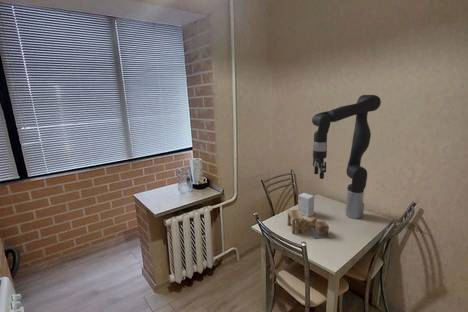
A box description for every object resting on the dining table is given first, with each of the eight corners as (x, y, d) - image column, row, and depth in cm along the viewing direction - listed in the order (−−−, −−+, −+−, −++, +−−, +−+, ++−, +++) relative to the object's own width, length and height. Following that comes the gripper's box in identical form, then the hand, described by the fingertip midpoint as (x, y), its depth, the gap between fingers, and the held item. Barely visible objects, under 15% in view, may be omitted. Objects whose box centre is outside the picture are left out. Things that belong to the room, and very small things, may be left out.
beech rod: (312, 222, 154) (312, 216, 152) (316, 225, 151) (316, 218, 150) (292, 230, 146) (293, 223, 145) (297, 233, 143) (297, 226, 142)
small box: (313, 214, 163) (314, 195, 160) (308, 217, 160) (308, 198, 156) (303, 210, 170) (303, 192, 166) (297, 213, 166) (298, 195, 162)
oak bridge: (298, 223, 153) (298, 209, 151) (303, 233, 142) (304, 218, 140) (287, 223, 153) (287, 210, 151) (292, 233, 142) (292, 219, 140)
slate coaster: (324, 228, 146) (324, 227, 146) (330, 237, 137) (330, 236, 137) (308, 229, 145) (308, 228, 145) (314, 238, 137) (314, 237, 137)
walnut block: (324, 229, 144) (324, 221, 142) (328, 234, 138) (328, 226, 137) (315, 230, 144) (315, 221, 142) (318, 235, 138) (318, 226, 137)
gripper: (331, 151, 135) (330, 180, 139) (321, 146, 149) (320, 172, 153) (318, 152, 135) (316, 180, 139) (309, 147, 148) (308, 172, 152)
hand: (318, 176), depth 146 cm, fingers open, 8 cm apart
